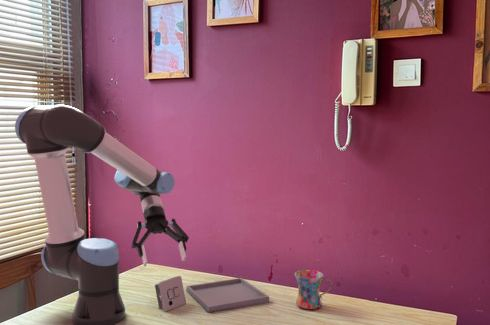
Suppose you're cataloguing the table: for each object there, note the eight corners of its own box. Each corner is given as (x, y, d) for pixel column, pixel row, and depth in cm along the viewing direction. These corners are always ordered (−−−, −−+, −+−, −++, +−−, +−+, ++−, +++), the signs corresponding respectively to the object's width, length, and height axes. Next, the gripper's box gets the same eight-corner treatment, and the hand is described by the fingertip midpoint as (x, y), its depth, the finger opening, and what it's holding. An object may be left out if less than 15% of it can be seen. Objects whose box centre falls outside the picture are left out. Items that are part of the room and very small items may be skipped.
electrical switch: (165, 312, 141) (163, 283, 141) (154, 310, 145) (152, 281, 144) (186, 304, 149) (184, 276, 149) (176, 301, 152) (174, 274, 152)
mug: (293, 310, 143) (293, 277, 143) (295, 300, 153) (295, 269, 152) (331, 313, 141) (332, 280, 140) (331, 302, 150) (332, 271, 150)
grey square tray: (208, 313, 141) (208, 307, 141) (186, 291, 160) (186, 285, 160) (269, 302, 150) (269, 296, 150) (241, 282, 170) (241, 277, 169)
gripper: (183, 214, 174) (197, 262, 162) (117, 219, 163) (126, 272, 151) (187, 202, 169) (202, 251, 157) (120, 207, 158) (130, 260, 146)
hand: (165, 261), depth 154 cm, fingers open, 13 cm apart
